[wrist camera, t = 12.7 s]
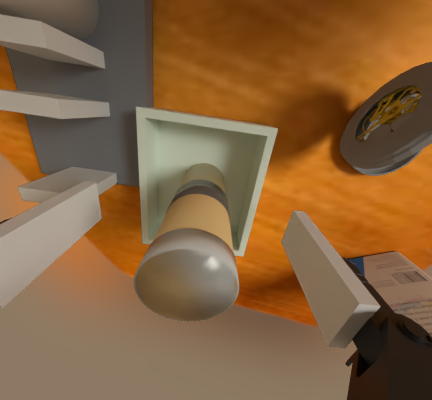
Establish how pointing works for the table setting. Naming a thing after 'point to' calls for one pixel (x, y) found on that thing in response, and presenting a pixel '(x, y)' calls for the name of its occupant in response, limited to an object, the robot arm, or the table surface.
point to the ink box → (399, 285)
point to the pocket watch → (391, 124)
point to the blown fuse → (191, 252)
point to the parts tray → (195, 154)
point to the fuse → (59, 14)
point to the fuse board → (81, 95)
